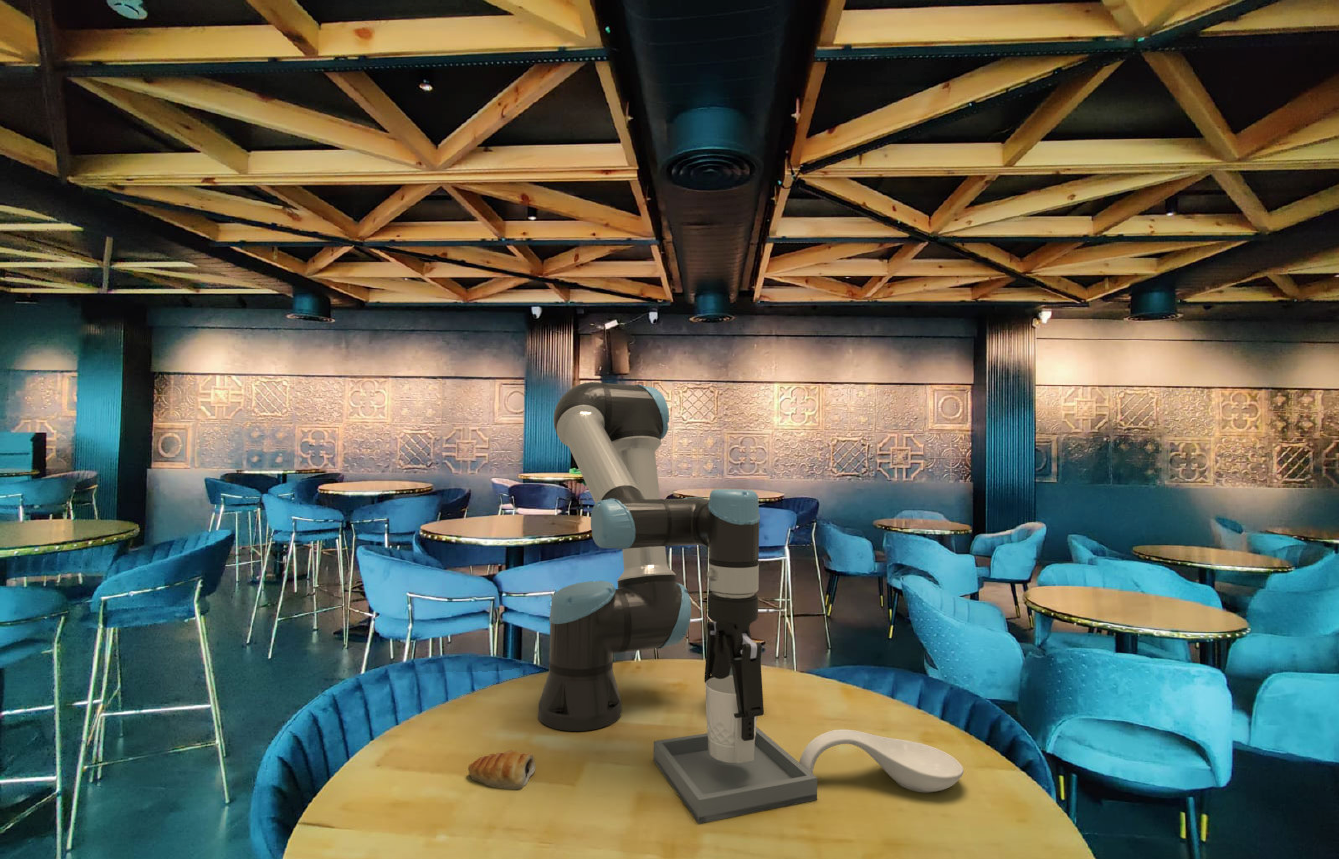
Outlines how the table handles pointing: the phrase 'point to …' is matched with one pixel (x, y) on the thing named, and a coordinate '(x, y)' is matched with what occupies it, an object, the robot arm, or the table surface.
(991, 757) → the table surface
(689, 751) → the tray
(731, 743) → the white cup
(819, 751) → the spoon rest
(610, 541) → the robot arm
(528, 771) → the pastry
